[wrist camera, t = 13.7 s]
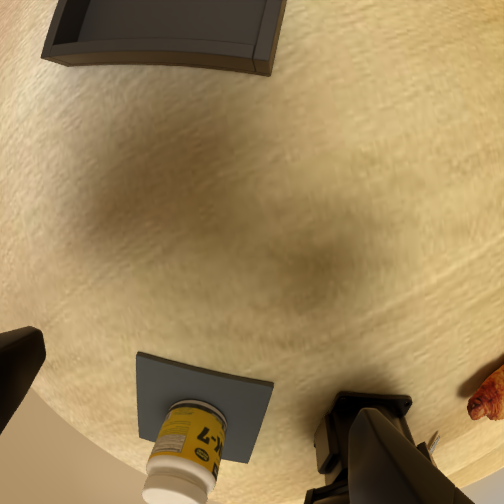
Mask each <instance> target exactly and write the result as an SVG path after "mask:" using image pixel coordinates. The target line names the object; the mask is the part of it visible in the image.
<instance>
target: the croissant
mask: <svg viewBox="0 0 504 504" xmlns="http://www.w3.org/2000/svg"><path fill="white" fill-rule="evenodd" d="M467 410H468V414H469V416H470V417H471V419H472V420H478V419H480V418H481V417H483V416H487V417H488V418H489V419H490V420H495V421H496V420H500V419H504V364H503V365H502V366H501V367H500V368H499V369H498V370H496V371H495V372H494V373H492V374H491V375H490V376H489V377H488V378H487V379H486V380H485V381H484V382H483V383H482V385H481V386H480V387H479V389H478V390H477V391H476V393H475V394H474V395H473V396H472V397H471V398H470V399H469V401H468V406H467Z"/></svg>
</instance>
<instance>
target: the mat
mask: <svg viewBox="0 0 504 504" xmlns="http://www.w3.org/2000/svg"><path fill="white" fill-rule="evenodd" d="M136 384H137V410H138V427H139V438H142V439H145V440H149V441H152V442H156V440H157V438H158V435H159V433H160V430H161V428H162V425H163V423H164V421H165V418H166V416H167V414H168V411H169V409H170V408H171V407H172V406H173V405H174V404H175V403H177V402H180V401H184V400H197V401H201V402H205V403H207V404H209V405H211V406H213V407H215V408H216V409H217V410H218V411H219V412H220V413H221V414H222V415H223V416H224V418H225V420H226V423H227V430H226V435H225V440H224V445H223V450H222V456H221V459H224V460H229V461H235V462H241V463H247V464H248V462H249V459H250V456H251V453H252V450H253V448H254V445H255V442H256V439H257V436H258V433H259V430H260V427H261V424H262V421H263V418H264V415H265V412H266V409H267V406H268V403H269V400H270V397H271V394H272V391H273V388H274V383H270V382H264V381H258V380H253V379H248V378H243V377H238V376H233V375H228V374H223V373H219V372H214V371H210V370H205V369H201V368H197V367H193V366H189V365H185V364H181V363H177V362H173V361H169V360H166V359H162V358H158V357H155V356H151V355H148V354H144V353H141V352H138V353H137V355H136Z"/></svg>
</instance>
